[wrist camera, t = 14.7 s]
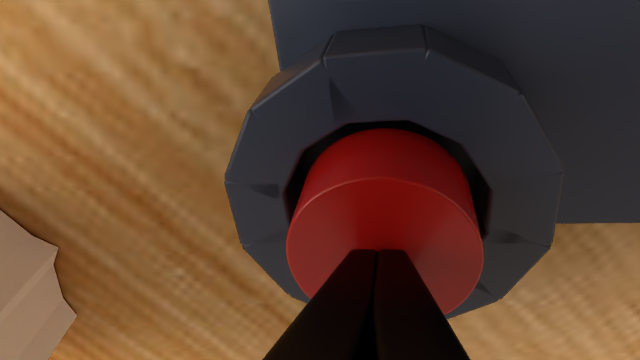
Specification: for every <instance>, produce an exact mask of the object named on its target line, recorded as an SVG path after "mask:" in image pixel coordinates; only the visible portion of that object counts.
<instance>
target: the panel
mask: <svg viewBox="0 0 640 360" xmlns="http://www.w3.org/2000/svg"><path fill="white" fill-rule="evenodd" d="M268 2H269V7H270V13H271V19H272V25H273V31H274V37H275V42H276V48H277V54H278V60H279V66H280V71H281V72H279V73H278V74H276V75H275V76H274V77H272V78H271V80H270V81H269V83H268V84H267V85H266V86H265V88H264V89H263V91H262V92H261V93H260V95H259V96H258V97H257V99H256V100H255V102H254V103H253V104H252V106H251V107H250V108H249V110H248V111H247V113H246V116H245V119H244V121H243V124H242V127H241V130H240V133H239V135H238V138H237V141H236V144H235V147H234V149H233V152H232V155H231V158H230V161H229V164H228V166H227V169H226V172H225V187H226V191H227V195H228V198H229V202H230V206H231V209H232V213H233V217H234V220H235V224H236V228H237V232H238V235H239V239H240V243H241V244H242V247H243V249H244V250H245V251H246V252H247V253H248V254H249V255H250V256H251V257H252V258H253V259H254V260H255V261H256V262H257V263H258V264H259V265H260V266H261V267H262V268H263V269H264V270H265V271H266V273H267V274H268V275H269V276H270V277H271V278H272V279H273V280H274V281H275V282H276V283H277V284H278V285H279V286H280V287H281V288H282V289H283V290H284V291H285V292H286V293H287V294H290V296H291V297H293V298H296V299H298V300H300V301H303V302H305V303H308V302H309V301H310V300H311V299H310V298H309V297H308V296H307V295H306V294H305V293H304V292H303V290H302V289H301V288H300V287H299V285H298V284H297V282H296V280H295V279H294V277H293V275H292V273H291V270H290V267H289V264H288V261H287V255H286V238H287V234H288V229H289V227H290V224H291V221H292V218H293V215H294V212H295V209H296V206H297V203H298V200H299V198H300V195H301V192H302V189H303V186H304V183H305V180H306V177H307V175H308V172H309V170H310V168H311V166H312V165H313V163H314V161H315V160H316V159H317V158H318V156H319V155H320V154H321V153H322V152H323V151H324V150H325V149H326V148H327V147H329V146H330V145H332V144H333V143H334V142H336V141H338V140H340V139H341V138H343V137H345V136H348V135H350V134H353V133H356V132H359V131H364V130H368V129H377V128H394V129H402V130H407V131H411V132H415V133H417V134H420V135H422V136H425V137H427V138H429V139H431V140H433V141H435V142H437V143H438V144H439V145H441V146H442V147H443V148H445V149H446V150H447V151H448V152H449V153H450V154H451V155H452V156H453V157H454V158H455V159H456V160H457V162H458V163H459V164H460V166H461V167H462V169H463V171H464V173H465V175H466V177H467V180H468V183H469V187H470V191H471V195H472V200H473V204H474V208H475V213H476V217H477V221H478V225H479V230H480V234H481V238H482V243H483V248H484V263H483V269H482V272H481V275H480V278H479V281H478V283H477V284H476V286H475V288H474V290H473V291H472V293H471V294H470V295H469V296H468V298H467V299H466V300H465V301H464V302H463V303H462V304H461V305H459V306H458V307H457V308H455V309H454V310H453V311H451V312H450V313H448V314H446V315H444V316H445V318H446V319H449V318H452V317H455V316H458V315H460V314H463V313H466V312H469V311H472V310H474V309H477V308H480V307H483V306H486V305H488V304H491V303H494V302H497V301H498V299H502V298H503V297H504V296H505V295H506V294H507V293H508V292H509V291H510V290H511V289H512V287H513V286H514V285H515V284H516V283H517V282H518V281H519V280H520V279H521V278H522V277H523V276H524V275H525V274H526V273H527V272H528V271H529V270H530V269H531V268H532V267H533V266H534V265H535V264H536V263H537V262H538V261H539V260H540V259H541V258H542V256H543V255H544V254H545V253H546V252H547V251H548V250H549V249H550V247H551V244H552V242H553V236H554V231H555V225H556V224H568V223H640V0H268Z"/></svg>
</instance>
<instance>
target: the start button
mask: <svg viewBox="0 0 640 360" xmlns="http://www.w3.org/2000/svg"><path fill="white" fill-rule="evenodd" d="M353 249H375V250H376V251H377V252H379V250H381V249H403V250H405V251H406V252H407V254H408V256H409V257H410V259H411V261H412V262H413V264H414V266H415V267H416V269H417V271H418V272H419V274H420V276H421V277H422V279H423V281H424V282H425V284H426V286H427V287H428V289H429V291H430V292H431V294H432V296H433V298H434V299H435V301H436V303H437V304H438V306H439V308H440V309H441V311H442V313H443V314H444V315H446V314H448V313H450V312H451V311H453V310H454V309H455V308H457V307H458V306H459V305H461V304H462V303H463V302H464V301H465V300H466V299H467V298H468V296H469V295H470V294H471V293H472V291H473V290H474V288H475V286H476V284H477V283H478V281H479V278H480V275H481V272H482V269H483V263H484V248H483V243H482V238H481V234H480V230H479V225H478V221H477V217H476V213H475V208H474V204H473V200H472V195H471V191H470V187H469V183H468V180H467V177H466V175H465V173H464V171H463V169H462V167H461V166H460V164H459V163H458V162H457V160H456V159H455V158H454V157H453V156H452V155H451V154H450V153H449V152H448V151H447V150H446V149H445V148H443V147H442V146H441V145H439V144H438V143H437V142H435V141H433V140H431V139H429V138H427V137H425V136H422V135H420V134H417V133H415V132H411V131H407V130H402V129H394V128H377V129H368V130H364V131H359V132H356V133H353V134H350V135H348V136H345V137H343V138H341V139H340V140H338V141H336V142H334V143H333V144H332V145H330V146H329V147H327V148H326V149H325V150H324V151H323V152H322V153H321V154H320V155H319V156H318V158H317V159H316V160H315V161H314V163H313V165H312V166H311V168H310V170H309V172H308V175H307V177H306V180H305V183H304V186H303V189H302V192H301V195H300V198H299V200H298V203H297V206H296V209H295V212H294V215H293V218H292V221H291V224H290V227H289V229H288V234H287V238H286V255H287V261H288V264H289V267H290V270H291V273H292V275H293V277H294V279H295V280H296V282H297V284H298V285H299V287H300V288H301V289H302V290H303V292H304V293H305V294H306V295H307V296H308V297H309V298H310V299H312V297H313V296H314V295H315V294H316V293H317V291H318V290H319V289H320V288H321V286H322V285H323V284H324V283H325V281H326V280H327V279H328V278H329V276H330V275H331V274H332V273H333V271H334V270H335V269H336V268H337V266H338V265H339V264H340V263H341V262H342V260H343V259H344V258H345V257H346V255H347V254H348V253H349V252H350V251H351V250H353Z"/></svg>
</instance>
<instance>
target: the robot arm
mask: <svg viewBox="0 0 640 360" xmlns="http://www.w3.org/2000/svg"><path fill="white" fill-rule="evenodd" d="M262 360H470V358H469V356H468V355H467V353H466V351H465V350H464V348H463V346H462V345H461V343H460V341H459V340H458V338H457V336H456V334H455V333H454V331H453V329H452V328H451V326H450V324H449V323H448V321H447V319H446V318H445V316H444V314H443V313H442V311H441V309H440V308H439V306H438V304H437V303H436V301H435V299H434V298H433V296H432V294H431V292H430V291H429V289H428V287H427V286H426V284H425V282H424V281H423V279H422V277H421V276H420V274H419V272H418V271H417V269H416V267H415V266H414V264H413V262H412V261H411V259H410V257H409V256H408V254H407V252H406V251H405V250H403V249H381V250H379V252H377V251H376V250H375V249H353V250H351V251H350V252H349V253H348V254H347V255H346V257H345V258H344V259H343V260H342V262H341V263H340V264H339V265H338V266H337V268H336V269H335V270H334V271H333V273H332V274H331V275H330V276H329V278H328V279H327V280H326V281H325V283H324V284H323V285H322V286H321V288H320V289H319V290H318V291H317V293H316V294H315V295H314V296H313V297H312V299H311V300H310V301H309V302H308V304H307V305H306V306H305V307H304V309H303V310H302V311H301V312H300V314H299V315H298V316H297V317H296V319H295V320H294V321H293V322H292V323H291V325H290V326H289V327H288V328H287V330H286V331H285V332H284V333H283V335H282V336H281V337H280V338H279V340H278V341H277V342H276V343H275V345H274V346H273V347H272V348H271V350H270V351H269V352H268V353H267V354H266V356H265V357H264V358H263V359H262Z"/></svg>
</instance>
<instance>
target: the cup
mask: <svg viewBox="0 0 640 360" xmlns="http://www.w3.org/2000/svg"><path fill="white" fill-rule="evenodd" d="M57 251H58V247H56V246H54V245H52V244H49V243H47V242H45V241H43V240H41V239H38V238H36V237H34V236H32V235H31V234H29V233H28V232H27V231H26V230H24V229H23V228H22V227H21V226H20V225H18V224H17V223H16V222H15V221H13V220H12V219H11V218H10V217H8V216H7V215H6V214H5V213H3V212H2V211H1V210H0V360H48V359H49V358H50V356H51V355H52V353H53V352H54V350H55V349H56V347H57V346H58V344H59V343H60V341H61V340H62V338H63V337H64V335H65V334H66V332H67V331H68V329H69V328H70V326H71V325H72V323H73V322H74V320H75V319H76V317H77V315H76V314H75V312H74V311H73V310H72V309H71V307H70V306H69V305H68V304H67V303H66V301H65V300H64V299H63V296H62V293H61V289H60V286H59V283H58V279H57V276H56V272H55V269H54V265H53V263H54V260H55V257H56V254H57Z"/></svg>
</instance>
